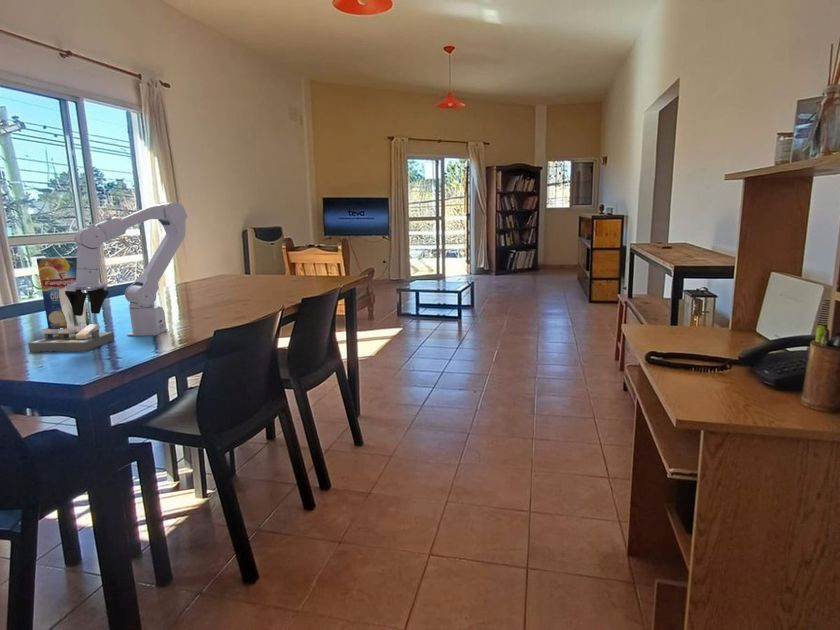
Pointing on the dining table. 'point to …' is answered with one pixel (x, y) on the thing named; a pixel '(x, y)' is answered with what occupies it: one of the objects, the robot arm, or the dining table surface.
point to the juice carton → (56, 286)
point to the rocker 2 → (87, 331)
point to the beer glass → (71, 312)
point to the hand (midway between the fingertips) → (86, 314)
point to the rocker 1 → (49, 331)
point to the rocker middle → (67, 331)
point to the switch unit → (70, 342)
